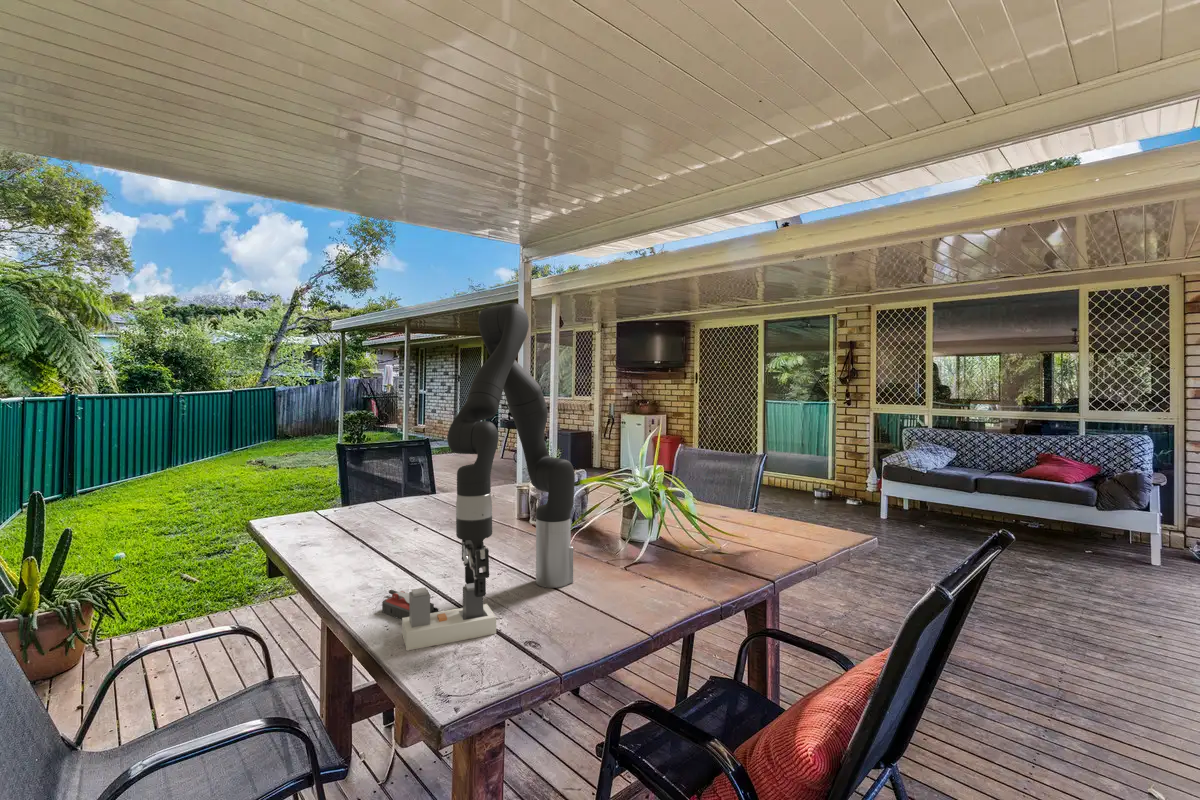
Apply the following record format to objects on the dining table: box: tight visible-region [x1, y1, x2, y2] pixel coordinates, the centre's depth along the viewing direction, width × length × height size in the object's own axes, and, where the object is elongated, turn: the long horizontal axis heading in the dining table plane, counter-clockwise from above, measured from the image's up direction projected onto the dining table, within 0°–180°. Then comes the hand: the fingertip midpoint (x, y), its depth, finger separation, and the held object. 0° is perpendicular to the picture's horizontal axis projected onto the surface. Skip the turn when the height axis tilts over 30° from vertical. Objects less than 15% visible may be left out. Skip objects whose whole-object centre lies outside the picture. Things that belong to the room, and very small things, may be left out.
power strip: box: [401, 587, 497, 652], centre depth 117 cm, size 18×8×10 cm, turn 116°
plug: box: [462, 583, 484, 620], centre depth 119 cm, size 4×4×9 cm
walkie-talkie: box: [381, 589, 440, 621], centre depth 130 cm, size 9×4×20 cm
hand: (475, 589), depth 119 cm, fingers open, 8 cm apart
